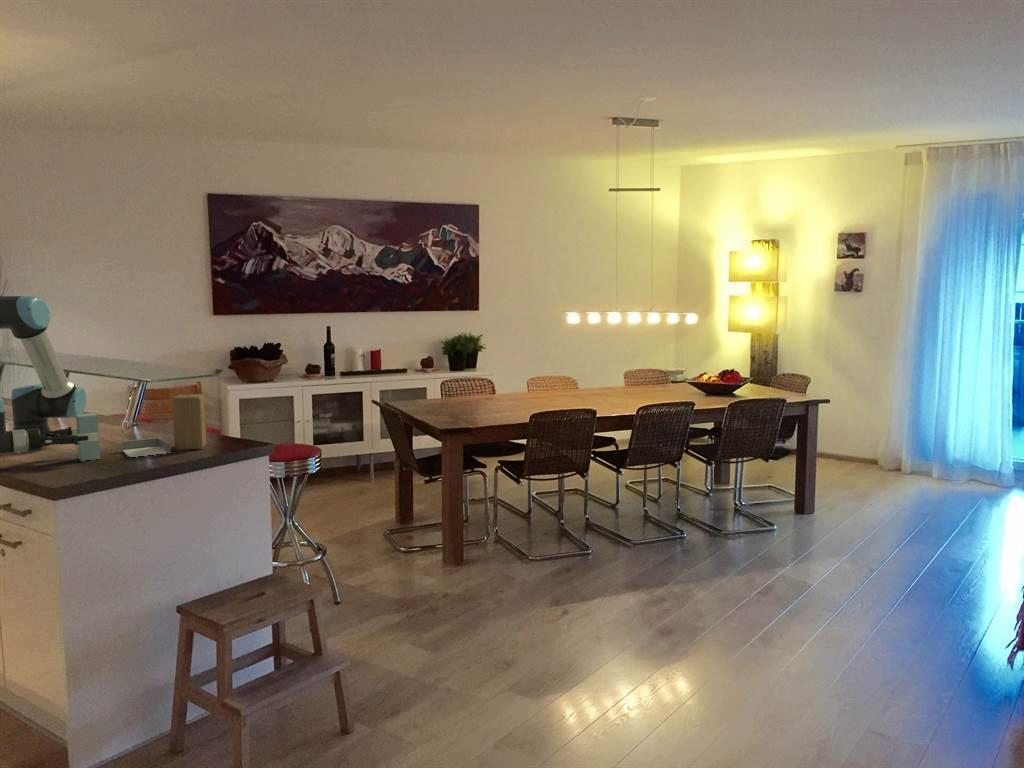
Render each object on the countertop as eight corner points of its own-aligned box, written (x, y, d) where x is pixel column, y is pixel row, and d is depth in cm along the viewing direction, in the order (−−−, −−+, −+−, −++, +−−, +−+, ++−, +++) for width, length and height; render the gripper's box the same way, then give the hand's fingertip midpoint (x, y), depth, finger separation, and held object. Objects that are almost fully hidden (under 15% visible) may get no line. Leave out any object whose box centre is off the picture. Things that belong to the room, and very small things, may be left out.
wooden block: (174, 450, 319) (171, 398, 317) (179, 445, 329) (176, 394, 326) (202, 449, 321) (200, 397, 319) (206, 444, 331) (204, 393, 328)
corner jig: (122, 451, 318) (121, 441, 317) (161, 447, 326) (161, 437, 325) (129, 458, 306) (128, 447, 306) (170, 453, 314) (169, 442, 314)
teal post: (79, 458, 306) (76, 414, 304) (97, 456, 310) (94, 413, 308) (81, 461, 301) (78, 416, 299) (100, 459, 305) (97, 415, 303)
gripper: (24, 445, 304) (90, 438, 316) (31, 457, 284) (101, 449, 296) (23, 424, 303) (89, 418, 315) (29, 434, 283) (100, 428, 295)
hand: (95, 433), depth 305 cm, fingers open, 13 cm apart
